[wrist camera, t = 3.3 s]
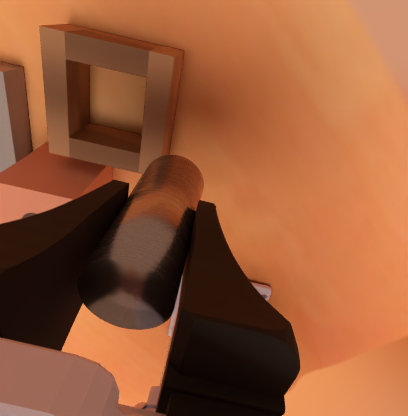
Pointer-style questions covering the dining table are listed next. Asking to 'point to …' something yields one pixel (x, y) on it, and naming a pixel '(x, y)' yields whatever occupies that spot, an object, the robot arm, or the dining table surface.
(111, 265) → the cylinder
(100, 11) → the dining table surface
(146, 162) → the brown square frame
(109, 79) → the dining table surface
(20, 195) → the block
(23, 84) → the tray
